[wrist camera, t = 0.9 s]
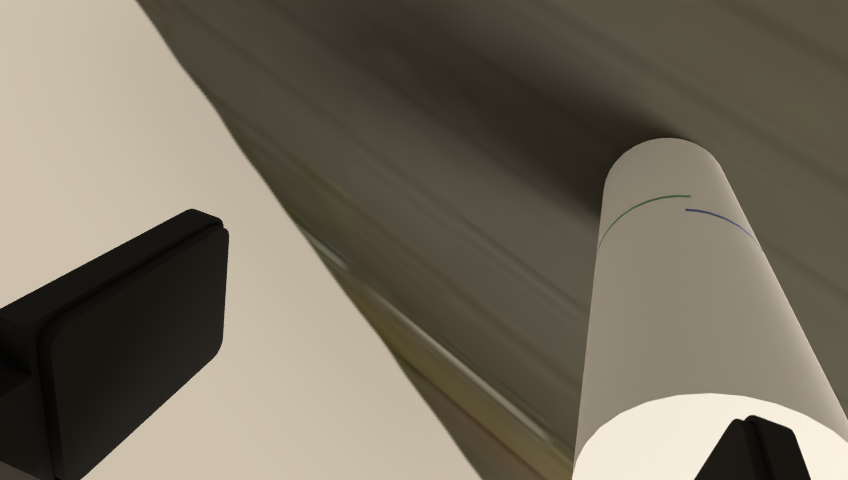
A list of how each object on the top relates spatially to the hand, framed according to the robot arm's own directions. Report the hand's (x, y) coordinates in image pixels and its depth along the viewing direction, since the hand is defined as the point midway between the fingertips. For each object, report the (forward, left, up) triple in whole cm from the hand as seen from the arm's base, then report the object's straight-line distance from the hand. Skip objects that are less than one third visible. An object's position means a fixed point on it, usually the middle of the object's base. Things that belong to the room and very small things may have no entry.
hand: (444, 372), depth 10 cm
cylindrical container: (-3, +8, -29) cm, 31 cm away
